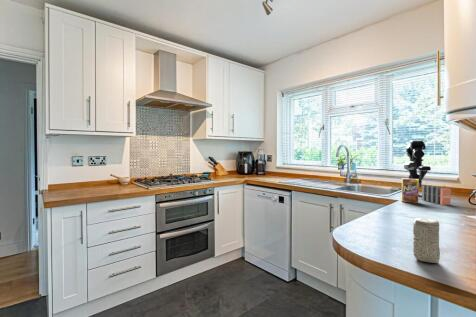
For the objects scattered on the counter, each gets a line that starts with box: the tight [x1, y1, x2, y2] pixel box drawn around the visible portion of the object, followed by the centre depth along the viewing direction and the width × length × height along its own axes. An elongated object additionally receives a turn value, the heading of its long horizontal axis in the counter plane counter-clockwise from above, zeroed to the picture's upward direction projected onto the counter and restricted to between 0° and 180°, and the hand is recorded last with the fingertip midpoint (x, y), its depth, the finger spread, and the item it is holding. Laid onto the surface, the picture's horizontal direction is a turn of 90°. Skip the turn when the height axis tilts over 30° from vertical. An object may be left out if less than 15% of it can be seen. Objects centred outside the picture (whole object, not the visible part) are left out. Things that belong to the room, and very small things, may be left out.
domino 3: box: [430, 186, 442, 204], centre depth 160 cm, size 2×5×10 cm, turn 90°
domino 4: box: [435, 187, 447, 205], centre depth 156 cm, size 2×5×10 cm, turn 90°
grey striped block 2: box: [425, 185, 437, 203], centre depth 164 cm, size 2×5×10 cm, turn 90°
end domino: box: [439, 188, 452, 206], centre depth 153 cm, size 2×5×10 cm, turn 90°
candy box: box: [400, 178, 420, 204], centre depth 161 cm, size 9×4×15 cm, turn 60°
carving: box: [412, 217, 441, 264], centre depth 72 cm, size 6×8×12 cm
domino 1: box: [421, 184, 431, 201], centre depth 168 cm, size 2×5×10 cm, turn 90°
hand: (416, 179), depth 177 cm, fingers open, 8 cm apart
